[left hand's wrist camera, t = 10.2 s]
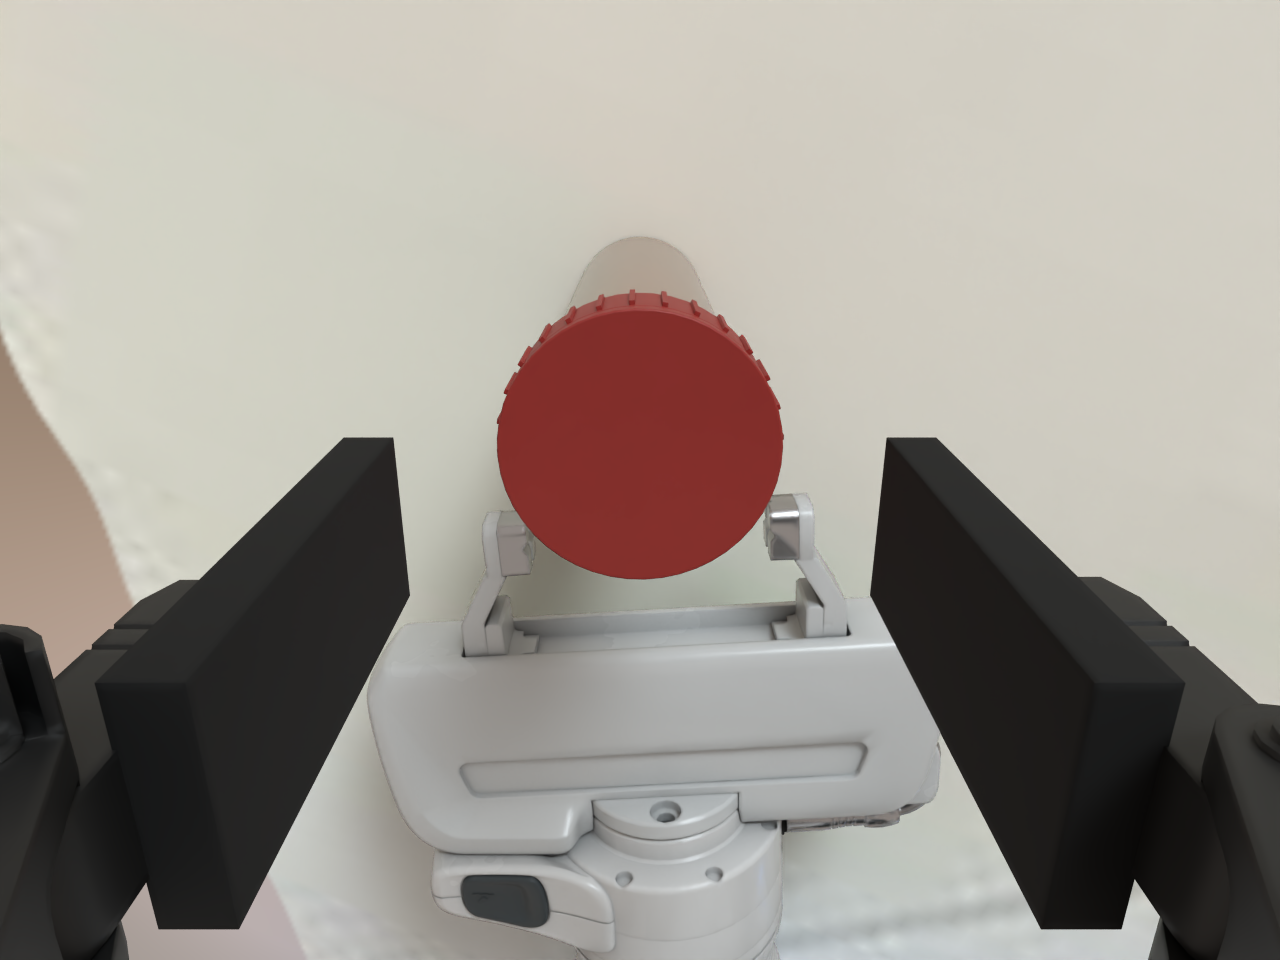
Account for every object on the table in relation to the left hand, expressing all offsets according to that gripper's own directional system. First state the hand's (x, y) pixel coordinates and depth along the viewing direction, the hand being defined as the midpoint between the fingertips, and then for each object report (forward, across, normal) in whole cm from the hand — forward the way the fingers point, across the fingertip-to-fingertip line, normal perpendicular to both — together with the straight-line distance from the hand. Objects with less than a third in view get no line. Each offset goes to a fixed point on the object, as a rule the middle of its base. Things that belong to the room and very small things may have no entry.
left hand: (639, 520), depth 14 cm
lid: (+4, 0, 0) cm, 4 cm away
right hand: (+14, 0, +6) cm, 15 cm away
